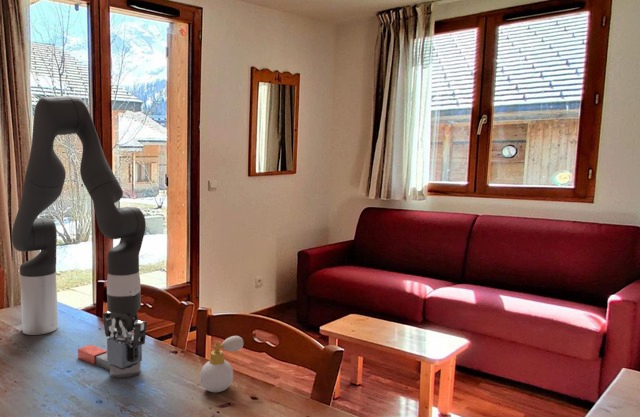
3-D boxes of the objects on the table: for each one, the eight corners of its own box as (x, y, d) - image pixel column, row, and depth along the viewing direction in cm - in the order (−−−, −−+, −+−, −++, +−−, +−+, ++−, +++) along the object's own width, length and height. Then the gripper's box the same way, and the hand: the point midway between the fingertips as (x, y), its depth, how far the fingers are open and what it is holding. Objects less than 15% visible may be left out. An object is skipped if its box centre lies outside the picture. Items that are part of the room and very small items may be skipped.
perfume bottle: (193, 390, 116) (193, 340, 115) (224, 375, 124) (224, 328, 123) (216, 400, 112) (216, 348, 111) (246, 384, 120) (247, 335, 119)
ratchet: (71, 360, 131) (71, 339, 130) (96, 351, 136) (96, 331, 136) (122, 382, 120) (121, 359, 119) (146, 371, 125) (146, 350, 125)
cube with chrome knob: (107, 362, 123) (106, 337, 122) (127, 355, 128) (127, 330, 127) (121, 368, 120) (121, 342, 119) (141, 360, 125) (141, 335, 124)
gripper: (91, 288, 123) (93, 355, 125) (129, 299, 115) (130, 371, 117) (118, 282, 129) (120, 346, 131) (156, 292, 121) (157, 360, 123)
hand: (125, 357), depth 124 cm, fingers closed on cube with chrome knob, 5 cm apart
